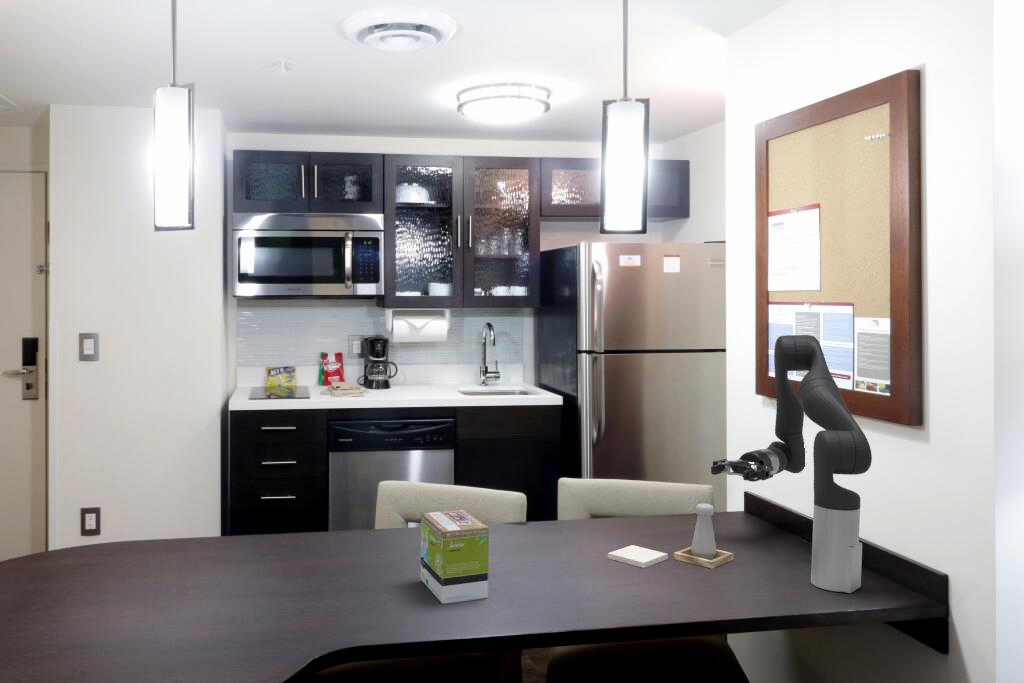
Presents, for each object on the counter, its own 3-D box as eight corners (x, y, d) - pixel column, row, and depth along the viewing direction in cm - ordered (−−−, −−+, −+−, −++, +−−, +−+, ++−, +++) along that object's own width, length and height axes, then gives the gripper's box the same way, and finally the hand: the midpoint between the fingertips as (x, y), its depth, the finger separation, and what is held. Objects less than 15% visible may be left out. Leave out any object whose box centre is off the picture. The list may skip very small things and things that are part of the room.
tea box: (418, 581, 171) (419, 511, 171) (463, 576, 175) (465, 507, 175) (441, 605, 157) (442, 529, 157) (489, 599, 161) (491, 525, 161)
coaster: (667, 558, 191) (667, 553, 191) (643, 568, 184) (643, 562, 183) (632, 549, 198) (632, 544, 198) (607, 558, 190) (607, 553, 190)
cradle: (733, 559, 191) (733, 553, 191) (712, 568, 184) (712, 562, 184) (695, 550, 198) (695, 544, 198) (673, 559, 191) (673, 552, 191)
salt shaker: (714, 556, 194) (716, 502, 193) (718, 563, 188) (719, 507, 188) (689, 555, 194) (691, 501, 194) (692, 562, 189) (694, 506, 188)
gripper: (734, 446, 215) (703, 453, 203) (786, 454, 206) (756, 462, 194) (733, 474, 216) (702, 483, 204) (784, 483, 206) (755, 493, 194)
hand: (728, 473), depth 199 cm, fingers open, 8 cm apart
